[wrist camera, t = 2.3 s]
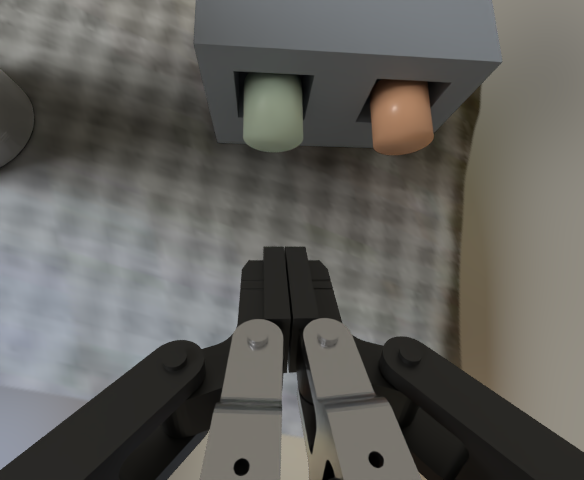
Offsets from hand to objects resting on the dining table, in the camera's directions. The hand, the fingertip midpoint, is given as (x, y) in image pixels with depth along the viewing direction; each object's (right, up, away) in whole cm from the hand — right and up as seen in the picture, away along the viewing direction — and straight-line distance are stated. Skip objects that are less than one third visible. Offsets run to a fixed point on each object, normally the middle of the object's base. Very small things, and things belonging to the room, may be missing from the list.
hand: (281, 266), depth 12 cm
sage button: (-1, +9, +13) cm, 16 cm away
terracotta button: (+8, +9, +13) cm, 18 cm away
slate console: (+3, +13, +18) cm, 23 cm away
